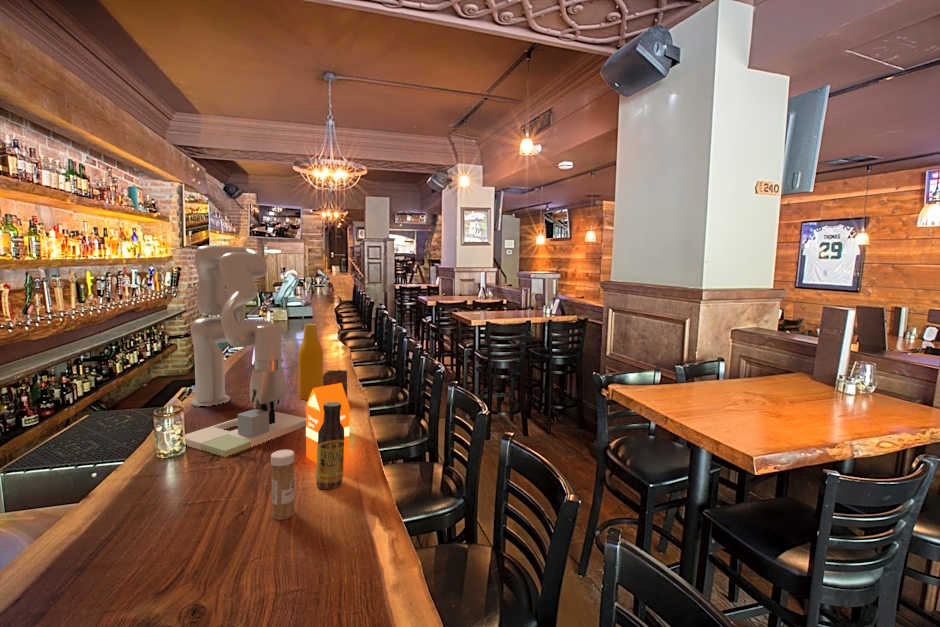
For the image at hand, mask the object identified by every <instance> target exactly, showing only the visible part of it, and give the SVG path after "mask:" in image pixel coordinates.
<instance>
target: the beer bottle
mask: <svg viewBox="0 0 940 627" xmlns="http://www.w3.org/2000/svg"><path fill="white" fill-rule="evenodd" d="M297 358H298V359H297V361H298V362H297V363H298V364H297V366H298V372H297V373H298V398H299V399H300V400H302V399H304V401H308V399H309V397H310V395H311V392H312V390H313V388H317V387H322V386H323V374H324V350H323V347H322V345H321V343H320V341H319V337H318V329H317V324H316V323H305V324H304V329H303V337H302V341H301V343H300V345H299V349H298V357H297Z"/></svg>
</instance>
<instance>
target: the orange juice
mask: <svg viewBox="0 0 940 627" xmlns="http://www.w3.org/2000/svg"><path fill="white" fill-rule="evenodd" d="M326 402H339V403H341V410H340V423H341V424H342V426H343V428H344V459H346V458H348V457H350V431H351V430H350V403H349V400H348V397H347V398H346V395H345V392H344V389H343V386H342V383H338V384H333V385H327V386H322V387H317V388H313V390H312V392H311V395H310V397H309V399H308V400H307V402H306V405H305V418H306V426H305V439H306V440H305V443H306V444H305V445H306V446H305V448H306V451H305V452H306V453H305V455H306V458H307V459H308V460H310V461H311V462H313V463H316V464H317V442H318V432H319V430H320V428H321V426H322V424H323V422H324V421H323V420H324V410H323V406H324V403H326Z"/></svg>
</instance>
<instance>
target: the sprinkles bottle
mask: <svg viewBox="0 0 940 627" xmlns="http://www.w3.org/2000/svg"><path fill="white" fill-rule="evenodd" d="M295 457H296V456H295V452H294V450H292V449H279V450H276V451H274V452H272V453H271V455H270V464H271V503H272V513H271V517H272V519H274V520H279V521H281V520H287V519H289V518H291V517H292V516H294V514H295V513H296V511H295V509H296V508H295V474H294V473H295V471H294V470H295V468H294V467H295V466H294V465H295V464H294V463H295V459H296V458H295Z"/></svg>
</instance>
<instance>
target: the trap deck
mask: <svg viewBox="0 0 940 627" xmlns="http://www.w3.org/2000/svg"><path fill="white" fill-rule="evenodd" d="M233 426H234V427H237V426H238V417H236V418H233V419H231V420H227V421H224V422H221V423H217V424H214V425H212V426H208V427H204V428H202V429H198V430H195V431H191V432H189V433H186V434H184V435H185V441H186V444H187V447H189V448H191V449H192V448H193V449H195V450H199V451H202V450H203V451H202V452H205V451H207V452H206V453H208V452H210V453H209V454H212V453H213V455H215V454H217V455H216V456H218V455H221V456H220V457H222V456H223V457H222V458H225V457H226V458H228V457H230V456H229V455H231V456H233V455H235V453H236V454H238V453H240V452H239V451H241V452H243V451H246V450H248V449H247V448H249V449H251V448H253V446H254V447H256V446H258V444H259V445H261V444H264V443H267V442H269V441H272V440H274V439H276V437H277V438H279V437H282V436H284V435H287V434H290V433H291V432H295V431H298V430H300V429H303V428H304V427H305V428H306V417H302V416H298V415H293V414H288V413H284V412H279V411H275V423H272V424H269V432H266V433H264V434H261V435H258V436H256V437H253V438H251V437H247V436H243V435H239V434H238V428H237V429H234V430H233V429H232V430H228V429H231V428H234V427H233ZM230 427H231V428H230ZM227 428H228V429H227ZM224 429H225V430H224ZM271 439H272V440H271ZM268 440H269V441H268ZM266 441H267V442H266ZM263 442H264V443H263ZM255 445H256V446H255ZM250 447H251V448H250ZM245 449H246V450H245ZM242 450H243V451H242ZM237 452H238V453H237ZM232 454H233V455H232ZM227 456H228V457H227Z"/></svg>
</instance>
